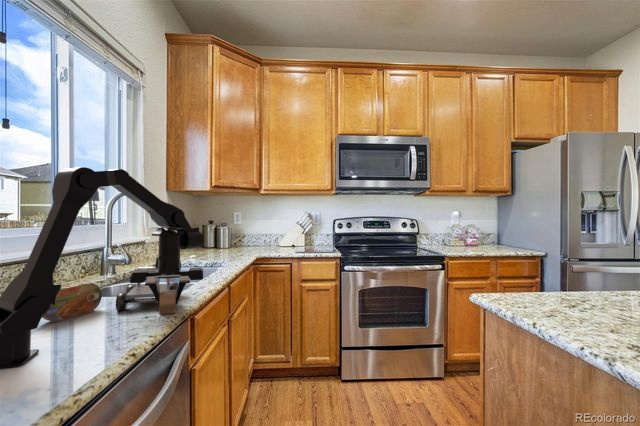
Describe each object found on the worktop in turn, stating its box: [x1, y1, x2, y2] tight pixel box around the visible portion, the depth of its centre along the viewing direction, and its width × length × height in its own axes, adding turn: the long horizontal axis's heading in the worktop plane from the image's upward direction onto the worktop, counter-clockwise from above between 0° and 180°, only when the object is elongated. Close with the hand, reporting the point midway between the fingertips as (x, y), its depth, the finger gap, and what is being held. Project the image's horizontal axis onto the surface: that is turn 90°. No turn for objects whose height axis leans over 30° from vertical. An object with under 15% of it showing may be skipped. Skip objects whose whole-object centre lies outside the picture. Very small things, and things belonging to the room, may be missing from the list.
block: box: [158, 290, 178, 315], centre depth 89 cm, size 5×4×6 cm
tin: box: [41, 282, 102, 323], centre depth 84 cm, size 15×3×8 cm, turn 163°
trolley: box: [115, 266, 179, 312], centre depth 98 cm, size 17×15×11 cm
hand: (168, 304), depth 89 cm, fingers open, 4 cm apart
